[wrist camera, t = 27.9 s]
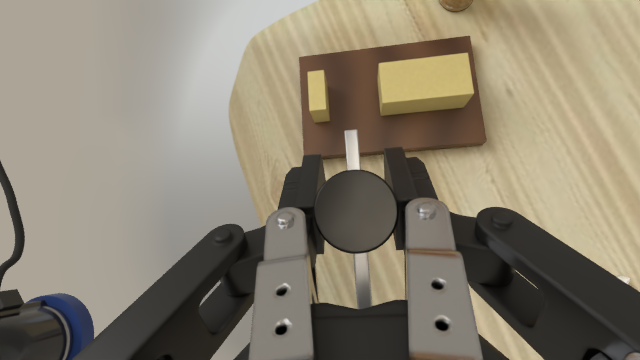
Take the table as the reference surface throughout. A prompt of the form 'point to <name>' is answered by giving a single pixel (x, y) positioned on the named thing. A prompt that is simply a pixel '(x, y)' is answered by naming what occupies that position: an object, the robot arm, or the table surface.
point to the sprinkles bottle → (455, 4)
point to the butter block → (424, 84)
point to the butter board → (364, 107)
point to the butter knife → (356, 214)
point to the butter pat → (318, 96)
